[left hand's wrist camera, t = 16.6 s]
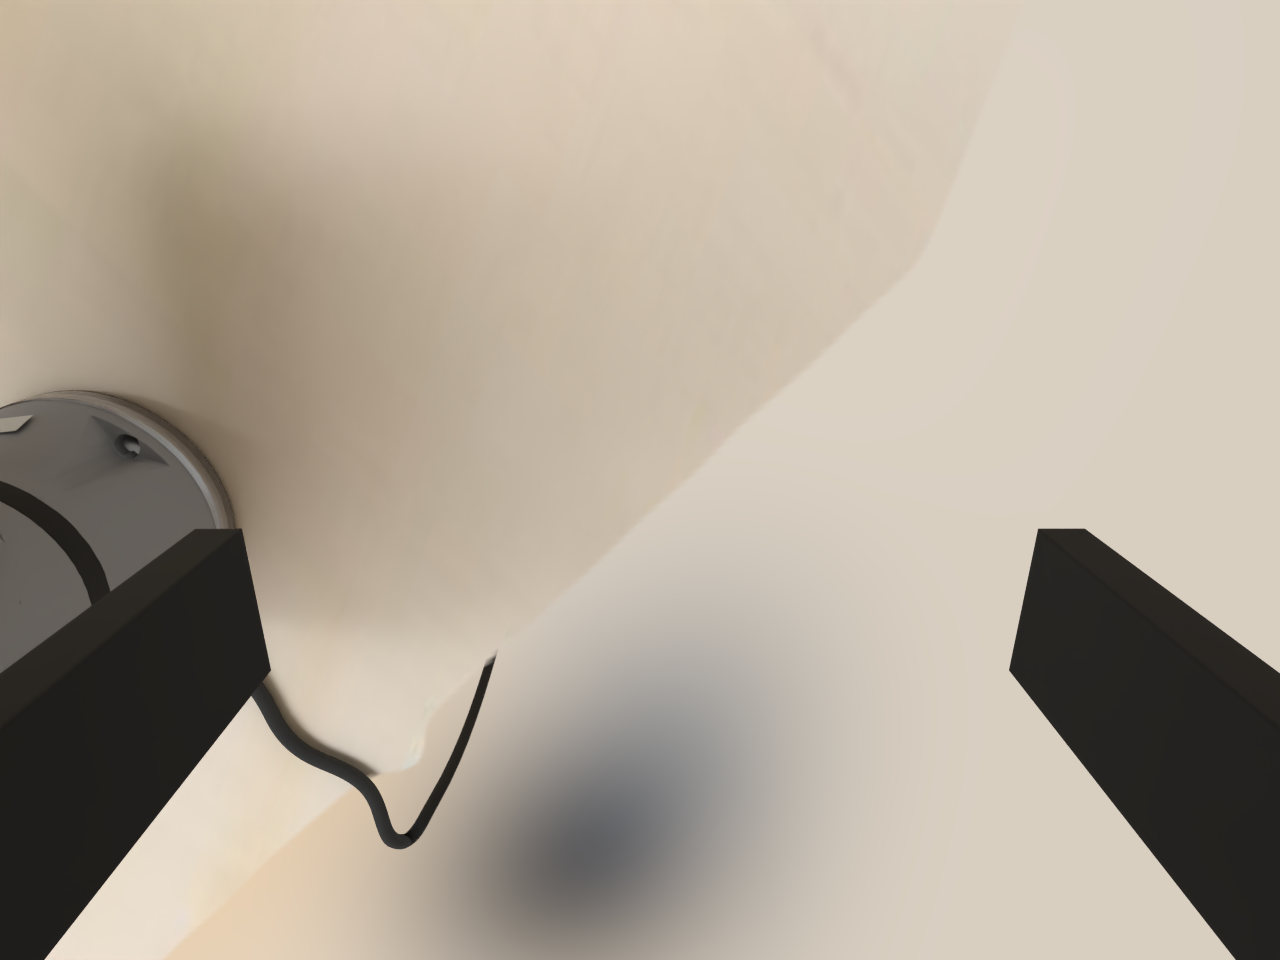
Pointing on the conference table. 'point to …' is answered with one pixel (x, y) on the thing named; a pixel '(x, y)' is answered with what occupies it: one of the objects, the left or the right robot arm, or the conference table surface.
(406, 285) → the conference table surface
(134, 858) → the conference table surface
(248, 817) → the conference table surface
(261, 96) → the conference table surface
